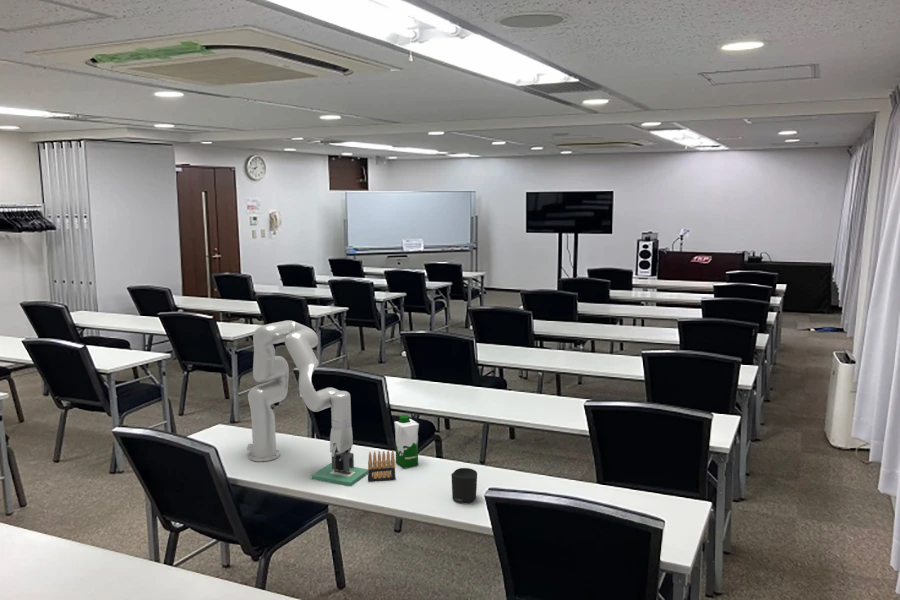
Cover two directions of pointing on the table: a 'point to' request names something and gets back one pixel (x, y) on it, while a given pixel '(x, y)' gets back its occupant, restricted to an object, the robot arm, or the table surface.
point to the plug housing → (345, 461)
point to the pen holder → (464, 485)
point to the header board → (340, 475)
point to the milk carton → (406, 442)
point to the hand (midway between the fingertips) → (342, 466)
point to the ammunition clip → (381, 467)
